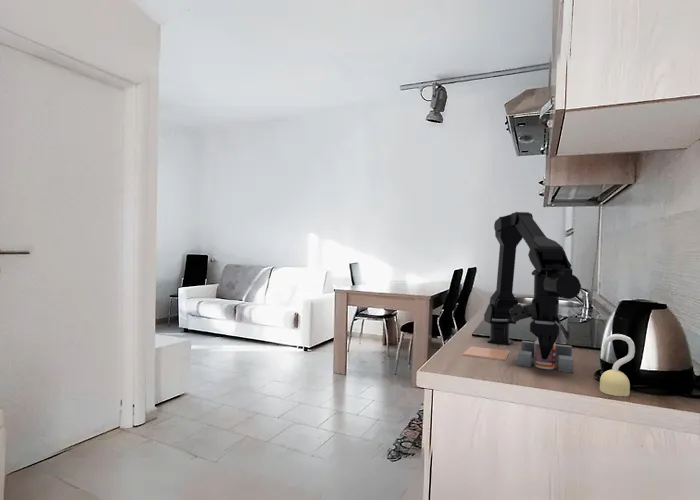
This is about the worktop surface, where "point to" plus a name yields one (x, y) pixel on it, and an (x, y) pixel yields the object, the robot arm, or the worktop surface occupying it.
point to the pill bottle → (544, 363)
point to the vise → (561, 355)
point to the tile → (486, 353)
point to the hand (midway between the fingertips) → (544, 357)
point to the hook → (614, 379)
